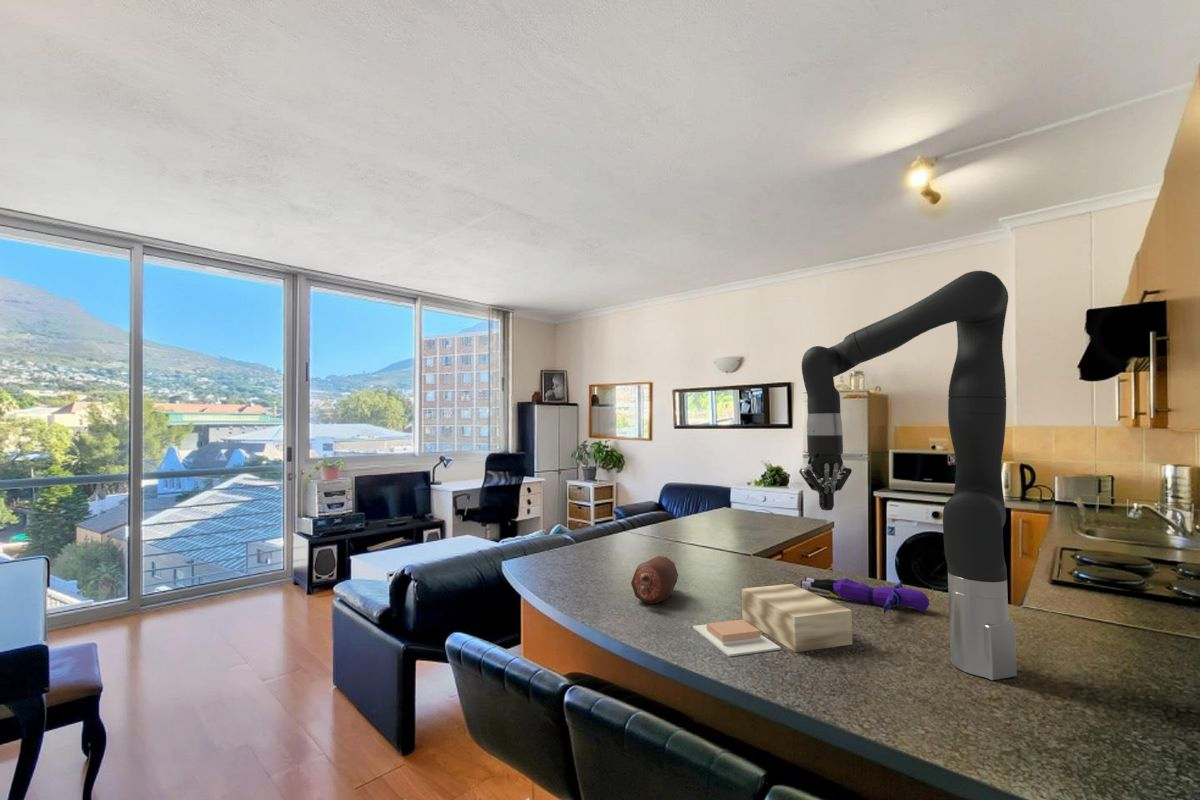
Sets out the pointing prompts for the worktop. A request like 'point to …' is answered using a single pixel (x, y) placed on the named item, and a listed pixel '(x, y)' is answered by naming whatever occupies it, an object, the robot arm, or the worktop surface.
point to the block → (797, 617)
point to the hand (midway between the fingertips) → (826, 509)
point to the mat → (739, 644)
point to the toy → (871, 593)
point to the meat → (654, 580)
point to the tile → (733, 632)
